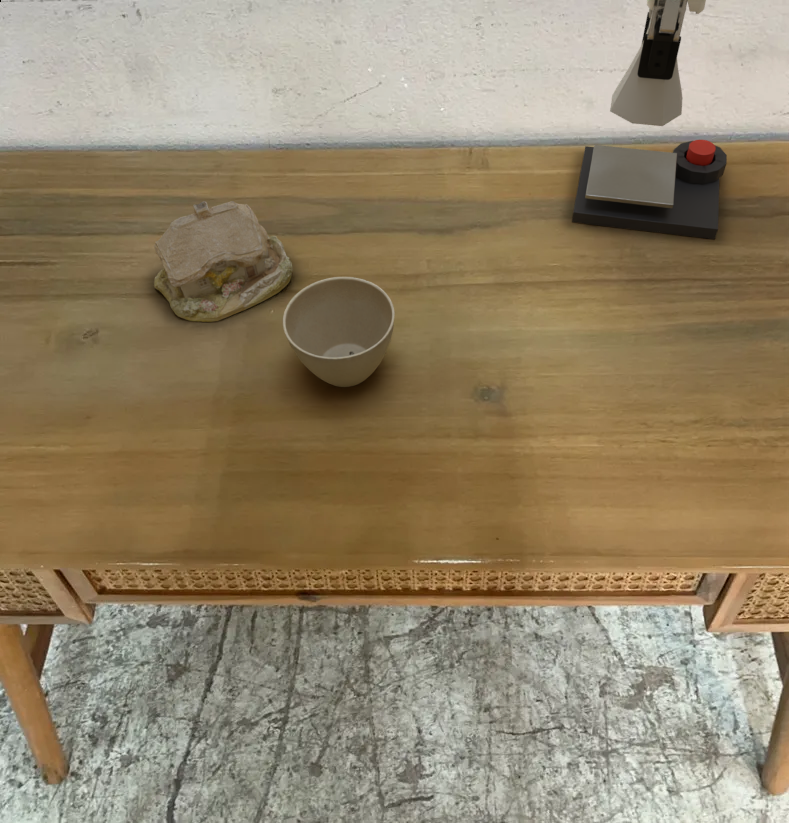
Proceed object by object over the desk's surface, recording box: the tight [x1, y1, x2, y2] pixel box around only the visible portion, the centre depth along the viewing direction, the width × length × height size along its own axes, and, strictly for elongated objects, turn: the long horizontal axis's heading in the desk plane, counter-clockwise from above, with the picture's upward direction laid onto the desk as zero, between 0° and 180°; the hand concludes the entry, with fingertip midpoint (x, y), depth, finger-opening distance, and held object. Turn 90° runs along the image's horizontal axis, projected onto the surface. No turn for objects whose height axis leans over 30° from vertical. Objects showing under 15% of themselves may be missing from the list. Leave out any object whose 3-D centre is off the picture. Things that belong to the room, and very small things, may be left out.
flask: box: [609, 0, 683, 127], centre depth 79 cm, size 7×7×10 cm
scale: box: [571, 140, 728, 240], centre depth 92 cm, size 15×13×3 cm
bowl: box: [282, 276, 396, 388], centre depth 77 cm, size 10×10×7 cm
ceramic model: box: [153, 200, 293, 323], centre depth 84 cm, size 14×11×10 cm
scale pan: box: [585, 144, 677, 208], centre depth 90 cm, size 9×9×1 cm
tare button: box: [686, 139, 716, 166], centre depth 91 cm, size 3×3×2 cm
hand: (655, 64), depth 80 cm, fingers closed on flask, 3 cm apart
